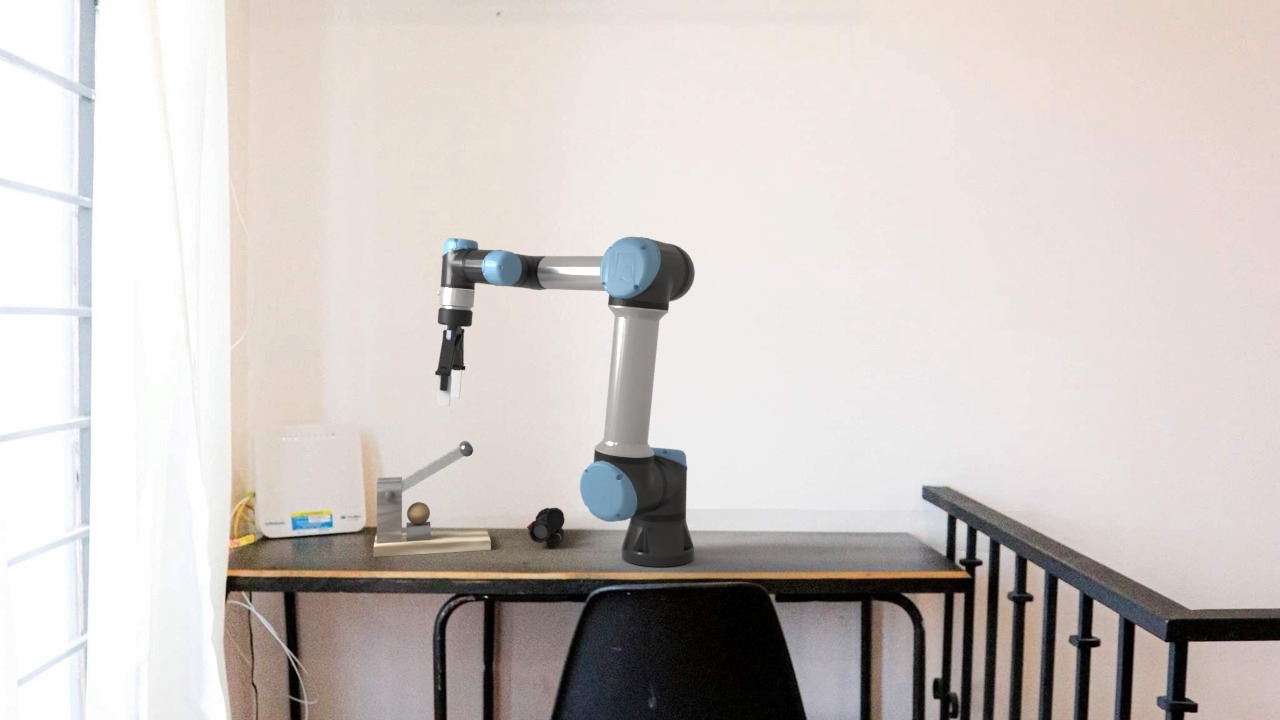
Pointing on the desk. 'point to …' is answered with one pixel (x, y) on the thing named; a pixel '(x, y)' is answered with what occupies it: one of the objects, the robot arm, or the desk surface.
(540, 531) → the night vision scope
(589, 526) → the desk surface
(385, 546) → the press base
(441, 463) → the lever
